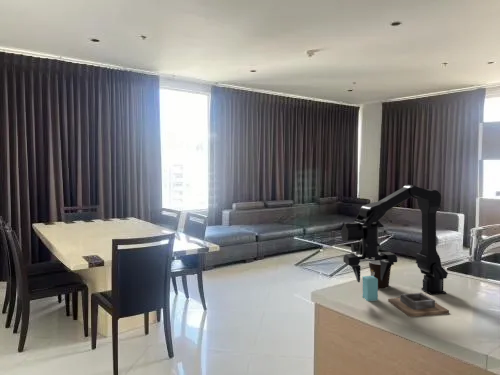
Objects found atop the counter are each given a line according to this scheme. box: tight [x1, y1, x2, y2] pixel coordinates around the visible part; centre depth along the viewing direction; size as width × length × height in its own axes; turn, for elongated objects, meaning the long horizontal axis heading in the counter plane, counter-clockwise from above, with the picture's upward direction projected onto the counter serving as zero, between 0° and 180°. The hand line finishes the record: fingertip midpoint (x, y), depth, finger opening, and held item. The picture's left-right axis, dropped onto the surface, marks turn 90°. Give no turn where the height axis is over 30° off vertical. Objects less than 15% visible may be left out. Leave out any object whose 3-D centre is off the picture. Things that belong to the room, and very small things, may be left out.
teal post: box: [362, 275, 379, 302], centre depth 140 cm, size 4×4×8 cm
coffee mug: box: [368, 260, 392, 289], centre depth 155 cm, size 12×9×10 cm
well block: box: [387, 292, 450, 318], centre depth 131 cm, size 14×14×4 cm
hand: (370, 281), depth 140 cm, fingers open, 9 cm apart
